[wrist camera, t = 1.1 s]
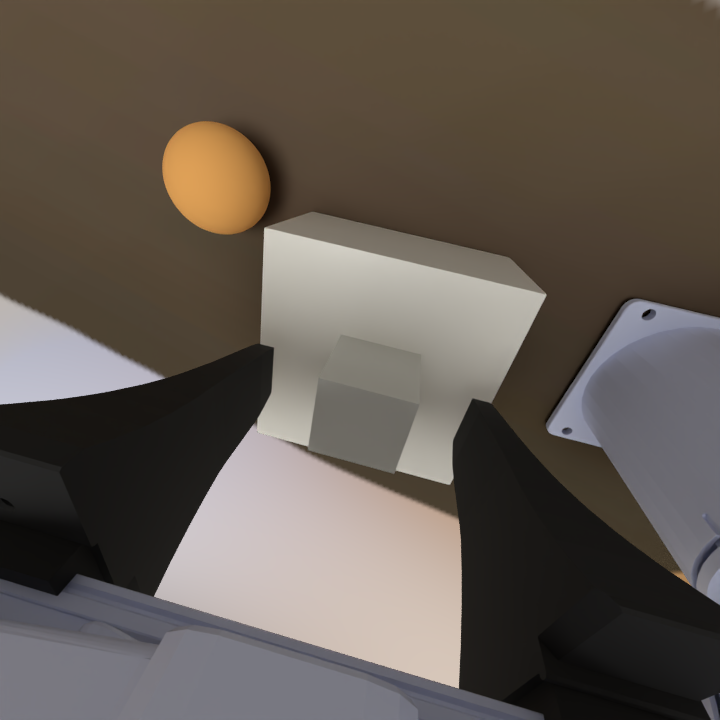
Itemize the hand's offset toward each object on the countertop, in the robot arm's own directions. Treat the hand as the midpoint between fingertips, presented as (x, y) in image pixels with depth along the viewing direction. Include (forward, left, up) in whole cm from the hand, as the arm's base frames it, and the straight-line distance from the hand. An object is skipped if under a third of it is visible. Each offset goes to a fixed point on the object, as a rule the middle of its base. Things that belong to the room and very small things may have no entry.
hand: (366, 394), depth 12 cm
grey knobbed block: (0, 0, -7) cm, 7 cm away
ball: (+8, -5, -5) cm, 10 cm away
